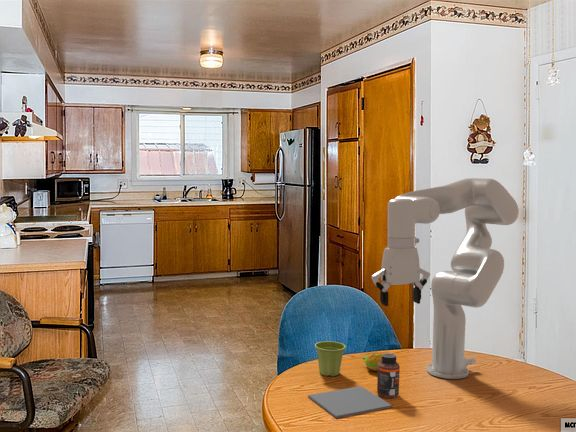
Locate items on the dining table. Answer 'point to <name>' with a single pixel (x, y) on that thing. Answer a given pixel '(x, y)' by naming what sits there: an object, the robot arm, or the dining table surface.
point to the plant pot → (329, 357)
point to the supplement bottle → (388, 376)
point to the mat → (349, 401)
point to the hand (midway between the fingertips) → (400, 303)
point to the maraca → (373, 360)
